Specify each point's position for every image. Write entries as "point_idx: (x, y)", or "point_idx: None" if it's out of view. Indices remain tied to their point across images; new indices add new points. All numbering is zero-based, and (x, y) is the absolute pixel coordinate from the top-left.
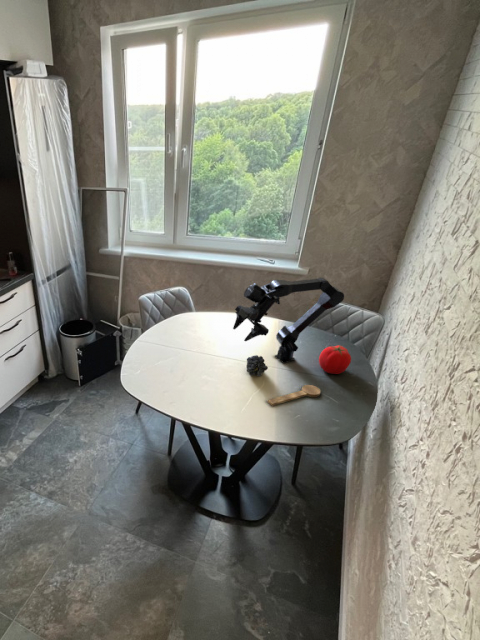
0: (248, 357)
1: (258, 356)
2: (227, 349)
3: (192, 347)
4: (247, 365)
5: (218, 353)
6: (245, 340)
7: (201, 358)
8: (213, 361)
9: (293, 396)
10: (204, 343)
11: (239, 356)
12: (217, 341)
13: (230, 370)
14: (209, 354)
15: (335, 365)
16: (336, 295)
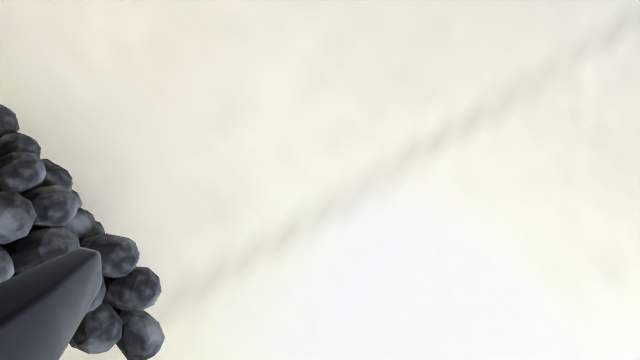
0: (148, 288)
1: None
2: (437, 307)
3: (627, 94)
4: (50, 168)
5: (438, 196)
6: (63, 263)
7: (467, 18)
8: (374, 62)
9: None
10: (612, 222)
11: (297, 306)
12: (571, 332)
13: (179, 64)
14: (471, 122)
15: None
16: None
